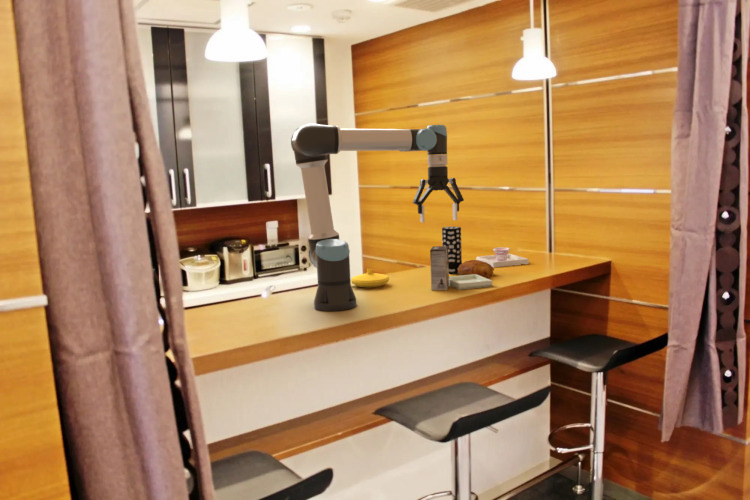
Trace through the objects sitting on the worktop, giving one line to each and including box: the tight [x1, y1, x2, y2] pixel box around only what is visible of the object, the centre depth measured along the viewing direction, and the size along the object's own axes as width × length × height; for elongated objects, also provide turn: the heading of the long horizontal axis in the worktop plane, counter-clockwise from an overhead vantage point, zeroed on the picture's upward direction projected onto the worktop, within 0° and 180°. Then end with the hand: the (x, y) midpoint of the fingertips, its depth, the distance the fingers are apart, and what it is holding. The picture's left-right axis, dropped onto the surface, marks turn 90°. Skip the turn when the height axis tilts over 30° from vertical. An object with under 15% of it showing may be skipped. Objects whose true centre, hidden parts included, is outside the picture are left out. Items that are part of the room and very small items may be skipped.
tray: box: [449, 274, 493, 291], centre depth 248 cm, size 14×15×2 cm
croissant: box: [458, 259, 495, 279], centre depth 266 cm, size 14×16×8 cm
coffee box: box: [429, 245, 450, 291], centre depth 244 cm, size 9×6×16 cm
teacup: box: [490, 246, 514, 262], centre depth 294 cm, size 12×12×6 cm
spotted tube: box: [441, 226, 463, 275], centre depth 274 cm, size 8×8×20 cm
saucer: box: [475, 253, 530, 268], centre depth 294 cm, size 18×18×2 cm
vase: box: [350, 268, 390, 288], centre depth 254 cm, size 16×16×7 cm
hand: (438, 221), depth 241 cm, fingers open, 13 cm apart
